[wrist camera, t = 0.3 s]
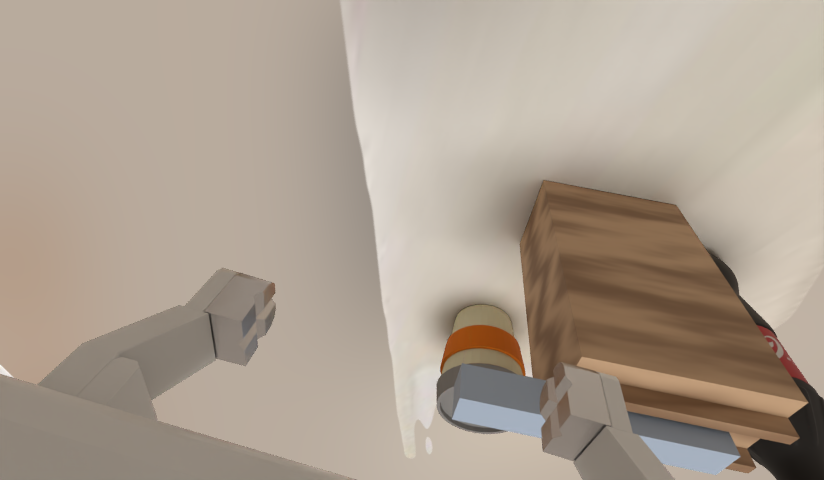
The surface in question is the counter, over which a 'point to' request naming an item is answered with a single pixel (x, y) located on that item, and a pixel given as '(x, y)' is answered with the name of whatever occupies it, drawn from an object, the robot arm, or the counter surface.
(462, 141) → the counter surface
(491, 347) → the reusable coffee cup
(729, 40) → the counter surface
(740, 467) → the walnut block
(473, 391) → the gray block
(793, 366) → the cola bottle
